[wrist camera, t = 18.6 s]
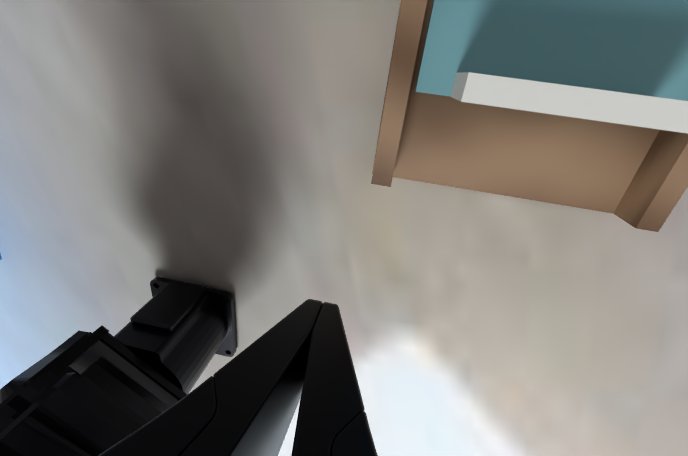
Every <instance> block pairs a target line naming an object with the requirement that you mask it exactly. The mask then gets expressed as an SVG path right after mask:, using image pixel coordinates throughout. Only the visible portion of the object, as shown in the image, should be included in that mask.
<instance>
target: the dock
mask: <svg viewBox="0 0 688 456" xmlns="http://www.w3.org/2000/svg"><path fill="white" fill-rule="evenodd" d="M432 5H433V0H401V4H400V10H399V16H398V22H397V28H396V34H395V40H394V46H393V52H392V58H391V64H390V70H389V76H388V82H387V88H386V94H385V100H384V106H383V112H382V118H381V124H380V130H379V136H378V142H377V148H376V154H375V160H374V166H373V172H372V174H373V176H372V182H371V184H377V185H383V186H389V187H391V182H392V177H397V178H403V179H409V180H415V181H421V182H427V183H433V184H439V185H445V186H451V187H457V188H463V189H469V190H475V191H481V192H487V193H493V194H499V195H505V196H511V197H517V198H524V199H530V200H536V201H542V202H548V203H554V204H560V205H566V206H572V207H578V208H584V209H590V210H596V211H602V212H608V213H614V214H615V215H617V216H618V217H620V218H621V219H623V220H624V221H626V222H627V223H629V224H630V225H632V226H633V227H635V228H638V229H644V230H650V231H656V232H658V231H659V230H660V228H661V227H662V225H663V224H664V222H665V221H666V219H667V218H668V216H669V214H670V213H671V211H672V210H673V208H674V207H675V205H676V204H677V202H678V201H679V199H680V198H681V196H682V194H683V193H684V191H685V190H686V188H687V187H688V134H687V133H680V132H673V131H666V130H659V129H652V128H645V127H638V126H631V125H623V124H616V123H609V122H602V121H595V120H588V119H581V118H574V117H567V116H560V115H552V114H545V113H538V112H531V111H524V110H517V109H510V108H503V107H496V106H488V105H481V104H474V103H467V102H461V101H459V100H456V99H454V98H452V97H450V96H443V95H436V94H428V93H421V92H415V88H416V83H417V78H418V73H419V68H420V63H421V58H422V54H423V49H424V44H425V39H426V34H427V29H428V24H429V19H430V15H431V10H432Z"/></svg>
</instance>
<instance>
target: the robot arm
mask: <svg viewBox="0 0 688 456" xmlns="http://www.w3.org/2000/svg"><path fill="white" fill-rule="evenodd" d="M150 286H151V291H152V296H153V298H152V299H151V300H150V301H149V302H148V303H146V304H145V305H144V306H143V307H142V308H141V309H140V310H139V311H138V312H136V313H135V314H134V315H133V316H132V317H131V318H130V319H131V322H129V323H128V324H127V325H126V326H125V327H124V328H123V329H122V330H121V331H120V332H118V333H117V334H116V335H115V336H112V335H111V334H110V333H108V332H109V330H107V329H106V328H105V327H104V326H101V327H99V328H98V329H97V330H96V331H94V332H93V333H91V332H83V331H78V332H77V333H75V334H74V335H73V336H72V337H70V338H69V339H68V340H66V341H65V342H64V343H63V344H61V345H60V346H59V347H58V348H56V349H55V350H54V351H52V352H51V353H50V354H48V355H47V356H45V357H44V358H43V359H41V360H40V361H38V362H37V363H36V364H34V365H33V366H31V367H30V368H28V369H27V370H26V371H24V372H23V373H21V374H20V375H18V376H17V377H16V378H14V379H13V380H11V381H10V382H9V383H8V384H6V385H5V386H4V387H3V388H2V389H0V456H278V453H279V451H280V448H281V446H282V443H283V440H284V438H285V435H286V433H287V430H288V428H289V425H290V423H291V420H292V417H293V415H294V412H295V410H296V407H297V405H298V402H299V399H300V397H301V400H300V406H299V412H298V419H297V425H296V431H295V437H294V444H293V450H292V456H378V455H377V452H376V449H375V445H374V442H373V438H372V435H371V432H370V428H369V424H368V420H367V416H366V413H365V412H364V405H363V401H362V397H361V393H360V389H359V385H358V381H357V377H356V374H355V370H354V366H353V362H352V358H351V354H350V350H349V346H348V342H347V338H346V334H345V330H344V326H343V322H342V318H341V314H340V310H339V307H338V305H337V304H332V303H328V302H324V303H322V302H321V301H318V300H313V299H308V300H306V301H305V302H304V303H302V304H301V305H300V306H299V307H297V308H296V309H295V310H294V311H292V312H291V313H290V314H289V315H287V316H286V317H285V318H284V319H282V320H281V321H280V322H279V323H277V324H276V325H275V326H274V327H272V328H271V329H270V330H269V331H267V332H266V333H265V334H264V335H262V336H261V337H260V338H259V339H257V340H256V341H255V342H254V343H252V344H251V345H250V346H249V347H247V348H246V349H245V350H244V351H242V352H241V353H240V354H239V355H237V356H236V357H235V358H234V359H232V360H231V361H230V362H229V363H227V364H226V365H225V366H224V367H222V368H221V369H220V370H219V371H217V372H216V373H215V374H214V377H213V376H211V377H210V378H208V379H207V380H206V381H205V382H203V383H202V384H201V385H200V386H198V387H197V388H196V389H194V390H193V391H192V392H190V390H191V389H192V387H193V386H194V384H195V383H196V381H197V380H198V378H199V377H200V375H201V374H202V372H203V371H204V369H205V368H206V366H207V365H208V363H209V362H210V360H211V359H212V357H213V356H214V354H219V355H224V356H228V357H232V356H233V355H234V354H235V352H236V335H235V316H234V298H233V295H232V294H231V293H230V292H227V291H222V290H217V289H212V288H208V287H203V286H198V285H193V284H188V283H184V282H179V281H174V280H169V279H165V278H160V277H156V278H154V279H153V280H152V281H151V282H150ZM226 298H227V299H226ZM189 392H190V393H189ZM188 393H189V394H188Z"/></svg>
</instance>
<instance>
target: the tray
mask: <svg viewBox="0 0 688 456" xmlns="http://www.w3.org/2000/svg"><path fill="white" fill-rule="evenodd" d="M415 92H421V93H428V94H436V95H443V96H450V97H452V98H454V99H456V100H459V101H461V102H467V103H474V104H481V105H488V106H496V107H503V108H510V109H517V110H524V111H531V112H538V113H545V114H552V115H560V116H567V117H574V118H581V119H588V120H595V121H602V122H609V123H616V124H623V125H631V126H638V127H645V128H652V129H659V130H666V131H673V132H680V133H687V134H688V0H433V5H432V10H431V15H430V19H429V24H428V29H427V34H426V39H425V44H424V49H423V54H422V58H421V63H420V68H419V73H418V78H417V83H416V88H415Z"/></svg>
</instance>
